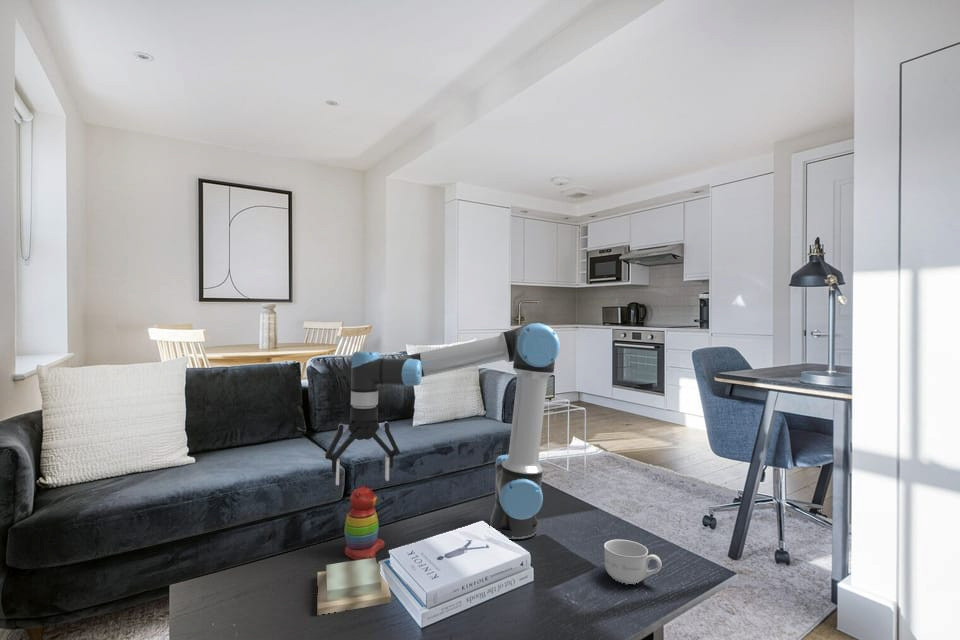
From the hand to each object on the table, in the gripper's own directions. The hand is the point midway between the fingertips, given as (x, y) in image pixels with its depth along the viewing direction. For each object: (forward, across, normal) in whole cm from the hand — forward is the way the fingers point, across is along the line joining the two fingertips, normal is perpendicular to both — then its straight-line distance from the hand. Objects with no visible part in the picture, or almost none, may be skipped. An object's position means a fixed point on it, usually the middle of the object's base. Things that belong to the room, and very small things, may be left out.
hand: (362, 481), depth 133 cm
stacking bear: (+20, 0, 0) cm, 20 cm away
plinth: (+20, +4, +19) cm, 28 cm away
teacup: (+19, -64, +36) cm, 75 cm away
